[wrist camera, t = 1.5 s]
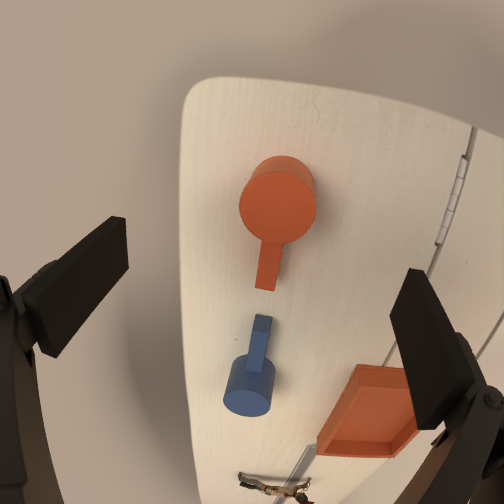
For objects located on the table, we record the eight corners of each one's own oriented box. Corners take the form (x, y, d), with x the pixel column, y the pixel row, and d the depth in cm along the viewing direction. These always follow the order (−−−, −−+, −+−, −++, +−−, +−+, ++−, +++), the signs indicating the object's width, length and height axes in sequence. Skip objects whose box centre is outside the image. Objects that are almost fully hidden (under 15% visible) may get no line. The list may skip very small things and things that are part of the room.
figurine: (252, 464, 54) (325, 479, 47) (249, 480, 53) (321, 496, 46) (236, 472, 49) (315, 490, 42) (234, 489, 48) (311, 508, 41)
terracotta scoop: (294, 279, 28) (292, 315, 24) (240, 269, 29) (228, 303, 24) (319, 161, 23) (322, 179, 19) (255, 150, 23) (243, 166, 19)
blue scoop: (239, 310, 31) (228, 347, 26) (288, 319, 30) (285, 357, 26) (230, 377, 36) (221, 411, 31) (271, 385, 35) (266, 420, 31)
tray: (357, 363, 32) (359, 385, 29) (447, 371, 31) (454, 390, 28) (316, 437, 40) (316, 455, 37) (392, 441, 39) (394, 457, 37)
